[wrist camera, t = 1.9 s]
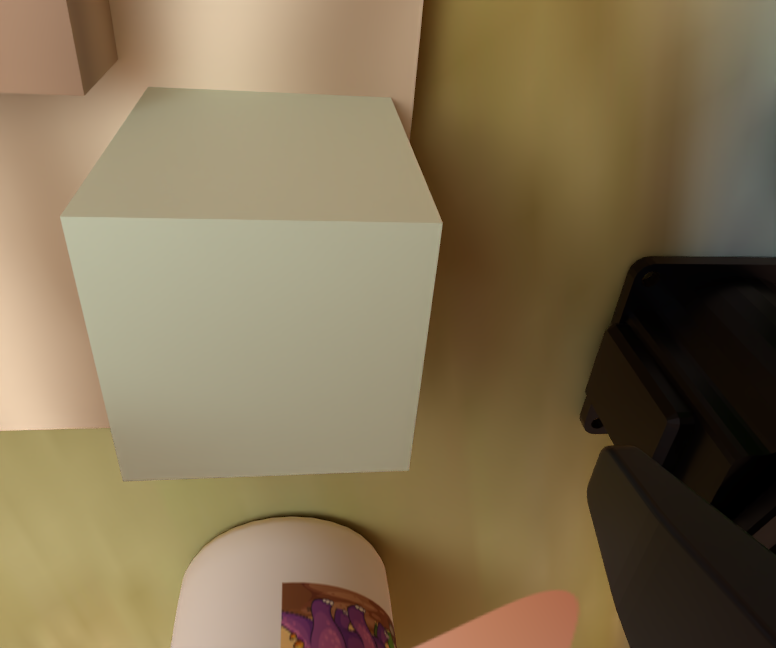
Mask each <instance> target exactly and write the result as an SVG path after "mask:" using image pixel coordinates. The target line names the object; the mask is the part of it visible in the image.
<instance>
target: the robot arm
mask: <svg viewBox="0 0 776 648" xmlns="http://www.w3.org/2000/svg"><path fill="white" fill-rule="evenodd" d="M649 272H653V273H652V275H651V276H650V277H648V278H647V279H643V277H644V276H645V275H646V274H647V273H649ZM642 279H643V280H642ZM585 392H586V395H587V396H586V399H585V402H584V405H583V407H582V410H581V413H580V421H581V423H582V425H583V427H584V428H585V430H586V431H587V432H588V433H591V434H608V435H609V437H610V438H611V440H612V442H613V444H614V446H606V447H604V448H603V449H602V450H601V452H600V454H599V457H598V460H597V462H596V465H595V468H594V470H593V473H592V476H591V478H590V481H589V484H588V488H587V501H588V505H589V509H590V513H591V517H592V521H593V525H594V528H595V532H596V536H597V540H598V544H599V547H600V551H601V555H602V559H603V563H604V566H605V570H606V574H607V578H608V582H609V585H610V589H611V593H612V596H613V600H614V603H615V607H616V610H617V613H618V616H619V618H620V621H621V624H622V627H623V630H624V632H625V635H626V638H627V640H628V643H629V646H630V648H776V258H744V257H644V258H642V259H640V260H638V261H636V262H635V263H634V264H633V265H632V266H631V268H630V269H629V271H628V274H627V277H626V280H625V283H624V286H623V289H622V292H621V295H620V297H619V300H618V303H617V306H616V309H615V312H614V315H613V318H612V321H611V324H610V326H609V327H608V328H607V329H606V331H605V333H604V336H603V339H602V342H601V345H600V348H599V351H598V354H597V357H596V360H595V363H594V366H593V369H592V372H591V375H590V378H589V381H588V384H587V387H586V391H585ZM596 418H598V419H596ZM595 419H596V420H595Z"/></svg>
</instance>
